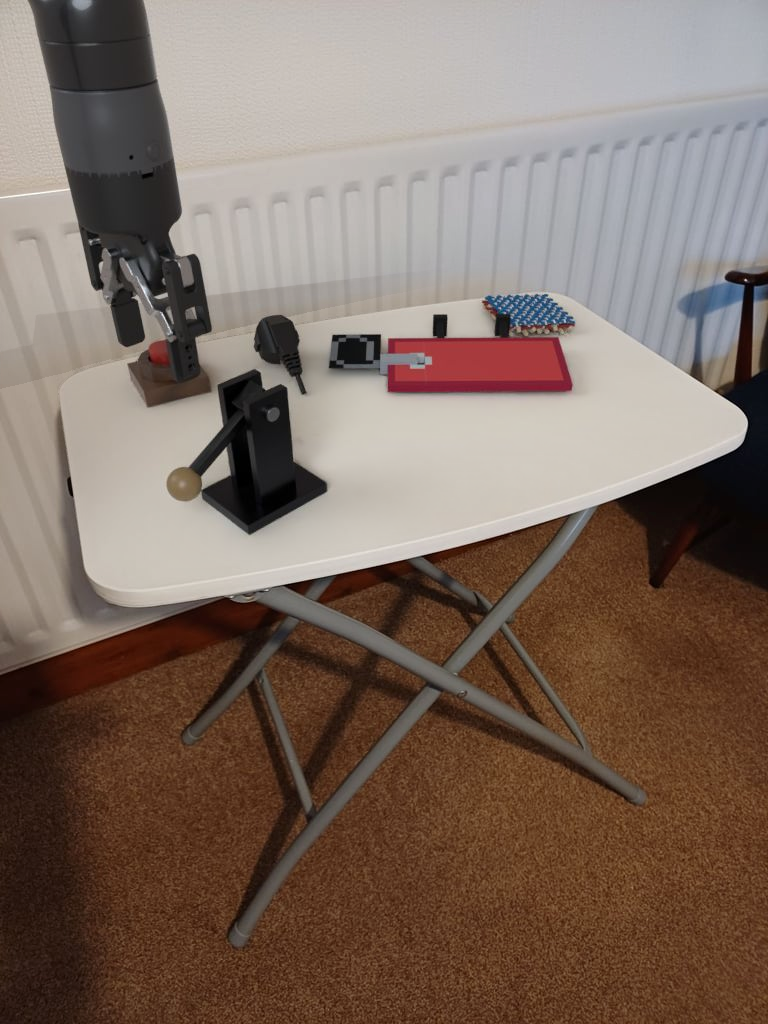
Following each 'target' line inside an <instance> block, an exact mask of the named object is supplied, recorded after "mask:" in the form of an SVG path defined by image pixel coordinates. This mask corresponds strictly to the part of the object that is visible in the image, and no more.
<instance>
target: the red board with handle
mask: <svg viewBox="0 0 768 1024" xmlns="http://www.w3.org/2000/svg"><path fill="white" fill-rule="evenodd" d="M448 319H449V317H448V314H447V313H442V314H441V313H440V314H439V313H438V314H437V313H436V314H435V313H433V314H432V337H398V338H397V337H388V338H387V353H382V334H381V333H372V334H371V333H370V334H366V333H364V334H363V333H361V334H360V333H358V334H357V333H356V334H355V333H354V334H352V333H351V334H348V333H347V334H332V336H331V343H330V352H329V361H328V369H379V370H380V371H379V373H380V375H387V385H386V387H387V393H434V392H435V393H437V392H438V393H439V392H440V393H441V392H445V393H446V392H447V393H448V392H449V393H450V392H453V393H454V392H455V393H456V392H460V393H461V392H465V393H466V392H572V390H573V385H574V384H573V380H572V377H571V374H570V370H569V367H568V363H567V361H566V358H565V355H564V351H563V348H562V344H561V342H560V341H561V340H560V338H559V336H530V337H529V336H521V337H519V336H518V337H517V336H516V337H514V336H512V337H510V336H509V329H510V320H511V316H510V314H496V320H494V331H493V333H494V337H447V336H448ZM510 330H511V329H510Z"/></svg>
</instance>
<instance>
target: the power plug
mask: <svg viewBox="0 0 768 1024" xmlns="http://www.w3.org/2000/svg"><path fill="white" fill-rule="evenodd" d="M253 341H254V344H253V348H254V351H255V353H258V354H259V357H260V359H261V360H263V361H264V362H266V363H268V364H271V365H281V362H282V364H283V366H284V368H285V369H286V371H287V373H288V374H289V376H290V378H295V381H296V383H297V386H298V388H299V391H300V393H301V395H306V394H307V393H308V392H307V389H306V387H305V383H304V381H303V379H302V376H301V375H302V374H303V367H302V362H301V358H300V357H301V356H300V351H299V345H300V341H301V340H300V335H299V332H298V330H297V329H296V326H295V324H294V321H292V320H291V319H290V318H288V317H286V316H284V315H283V314H274V315H273V314H272V315H268V316H264V317H263V318H261V319H260V321H259V322H258V324H257V325H256V327H255V333H254V337H253Z"/></svg>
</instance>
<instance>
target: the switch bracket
mask: <svg viewBox="0 0 768 1024" xmlns="http://www.w3.org/2000/svg"><path fill="white" fill-rule="evenodd" d="M249 381H252V382H254V383H256V384H257V385H259V386H261V387H263V380H262V373H261V371H260V370H258V369H256V368H254V369H252V370H248V371H247V372H244V373H242V374H238V375H236V376H234V377H232V378H230V379H227V380H225V381H222V382H220V383H217V384H216V388H217V395H218V401H219V408H220V414H221V420H222V427H223V426H224V425H225V424H226V423H227V422H228V421H229V419H230V418H231V417H232V416H233V415H234V414H235V412H236V411H237V410H238V409H237V408H236V407H235V406H234V405H233V404H232V403H231V402H232V401H233V400H234V399H235V397H236V396H237V395H238V394H239V393H240V392H241V390H242V389H243V388H244V387H245V386H246V385H247V383H248V382H249ZM265 390H266V391H263V392H261V393H259V394H256V395H254V396H252V397H250V398H247V399H245V400H243V407H244V415H245V422H246V425H245V426H244V427H243V428H242V429H241V431H240V432H239V433H238V434H237V435H236V436H235V438H234V439H233V440H232V441H231V442H230V443H229V445H228V446H227V447H226V453H227V459H228V467H229V472H230V475H228V476H226V477H223V478H222V479H220V480H217V481H216V482H213V483H212V484H210V485H208V486H206V487H204V488H202V489H201V492H200V494H201V498H202V500H203V501H204V502H206V504H208V505H210V506H211V507H212V508H213V509H215V510H216V511H217V512H219V513H220V514H221V515H222V516H224V517H225V518H226V519H227V520H228V521H230V522H232V523H233V524H234V525H236V526H237V527H238V528H239V529H241V531H244V533H245V534H247V535H248V536H250V535H253V534H254V533H256V532H257V531H259V530H262V529H263V528H264V527H266V526H268V525H270V524H272V523H274V522H276V521H277V520H279V519H281V518H282V517H284V516H286V515H288V514H290V513H292V512H293V511H295V510H297V509H299V508H301V507H302V506H304V505H306V504H307V503H309V502H311V501H313V500H315V499H316V498H318V497H320V496H322V495H323V494H326V493H327V492H328V483H327V481H325V480H323V479H322V478H321V477H319V476H317V475H316V474H314V473H313V472H311V471H310V470H308V469H306V468H304V467H303V466H302V465H301V464H299V463H297V462H296V461H295V460H294V448H293V439H292V438H293V437H292V426H291V413H290V405H289V403H290V402H289V393H288V392H289V391H288V387H287V386H286V385H284V384H282V383H279V384H277V385H274V386H273V387H270V388H267V389H265Z"/></svg>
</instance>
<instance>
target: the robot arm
mask: <svg viewBox="0 0 768 1024" xmlns="http://www.w3.org/2000/svg"><path fill="white" fill-rule="evenodd" d="M27 2H28V4H29V6H30V9H31V12H32V16H33V21H34V25H35V26H34V27H35V31H36V35H37V38H38V43H39V47H40V51H41V56H42V59H43V65H44V68H45V72H46V77H47V82H48V84H49V92H50V98H51V104H52V105H51V107H52V115H53V123H54V128H55V133H56V137H57V141H58V144H59V150H60V154H61V158H62V162H63V166H64V171H65V173H66V174H65V175H66V179H67V183H68V187H69V191H70V195H71V200H72V203H73V207H74V212H75V216H76V220H77V225H78V229H79V235H80V239H81V243H82V249H83V252H84V257H85V262H86V267H87V271H88V276H89V280H90V285H91V287H92V288H93V289H94V291H95V292H97V291H102V297H103V300H104V302H105V303H106V304H107V305H109V309H110V311H111V316H112V321H113V325H114V327H115V333H116V338H117V341H118V344H120V346H122V347H125V348H130V347H132V346H136V345H139V344H142V343H143V342H145V339H146V333H145V329H144V323H143V318H142V314H141V310H140V309H141V308H140V304H139V300H140V301H141V304H142V306H143V308H144V310H145V312H146V313H147V314H148V315H149V316H152V317H155V318H156V320H157V323H158V324H159V326H160V328H161V330H162V332H163V334H164V337H165V339H164V340H165V341H166V346H167V351H168V357H169V362H170V367H171V373H172V377H173V379H174V380H176V381H177V382H179V383H184V382H186V381H189V380H191V379H194V378H196V377H198V376H199V375H200V365H201V364H200V359H199V353H198V346H197V341H196V338H199V337H200V336H204V335H207V334H209V333H212V331H213V325H212V320H211V315H210V310H209V304H208V300H207V298H208V297H207V294H206V289H205V283H204V278H203V277H204V276H203V271H202V266H201V261H200V259H199V257H198V255H196V254H195V253H190V254H188V255H178V254H176V253H177V252H176V250H175V247H174V245H173V243H172V239H171V237H170V231H171V229H172V227H173V226H174V225H175V224H176V223H177V222H178V221H179V220H180V219H181V216H182V213H183V207H182V202H181V195H180V188H179V182H178V177H177V176H178V175H177V169H176V162H175V157H174V150H173V144H172V138H171V132H170V125H169V120H168V114H167V111H166V106H165V103H164V99H163V96H162V93H161V89H160V83H159V79H158V73H157V67H156V66H157V65H156V59H155V53H154V48H153V47H154V46H153V40H152V36H151V28H150V25H149V17H148V13H147V9H146V6H145V5H146V4H145V1H144V0H27ZM101 263H102V266H101V269H100V264H101ZM165 294H167V296H165V297H161V298H157V297H158V296H161V295H165ZM136 296H138V298H139V300H138V299H136V298H135V297H136ZM192 308H194V312H193V309H192ZM168 311H170V313H171V317H172V318H171V317H170V315H169V313H168Z"/></svg>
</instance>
